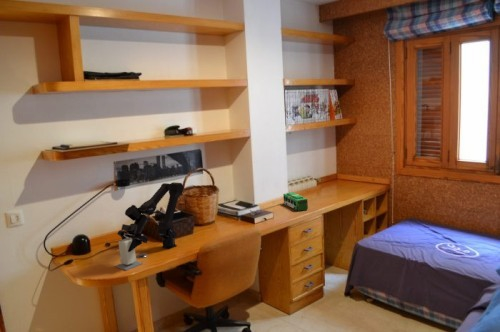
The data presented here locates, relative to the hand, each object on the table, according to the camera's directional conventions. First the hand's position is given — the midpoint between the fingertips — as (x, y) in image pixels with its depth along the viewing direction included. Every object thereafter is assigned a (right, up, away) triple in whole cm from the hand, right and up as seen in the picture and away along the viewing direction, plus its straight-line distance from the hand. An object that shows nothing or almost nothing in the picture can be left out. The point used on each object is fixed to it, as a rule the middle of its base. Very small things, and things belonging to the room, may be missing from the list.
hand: (125, 251), depth 212 cm
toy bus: (+100, +13, +96) cm, 140 cm away
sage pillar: (+1, -6, +2) cm, 7 cm away
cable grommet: (+5, -6, +15) cm, 17 cm away
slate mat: (+1, -8, +2) cm, 9 cm away
